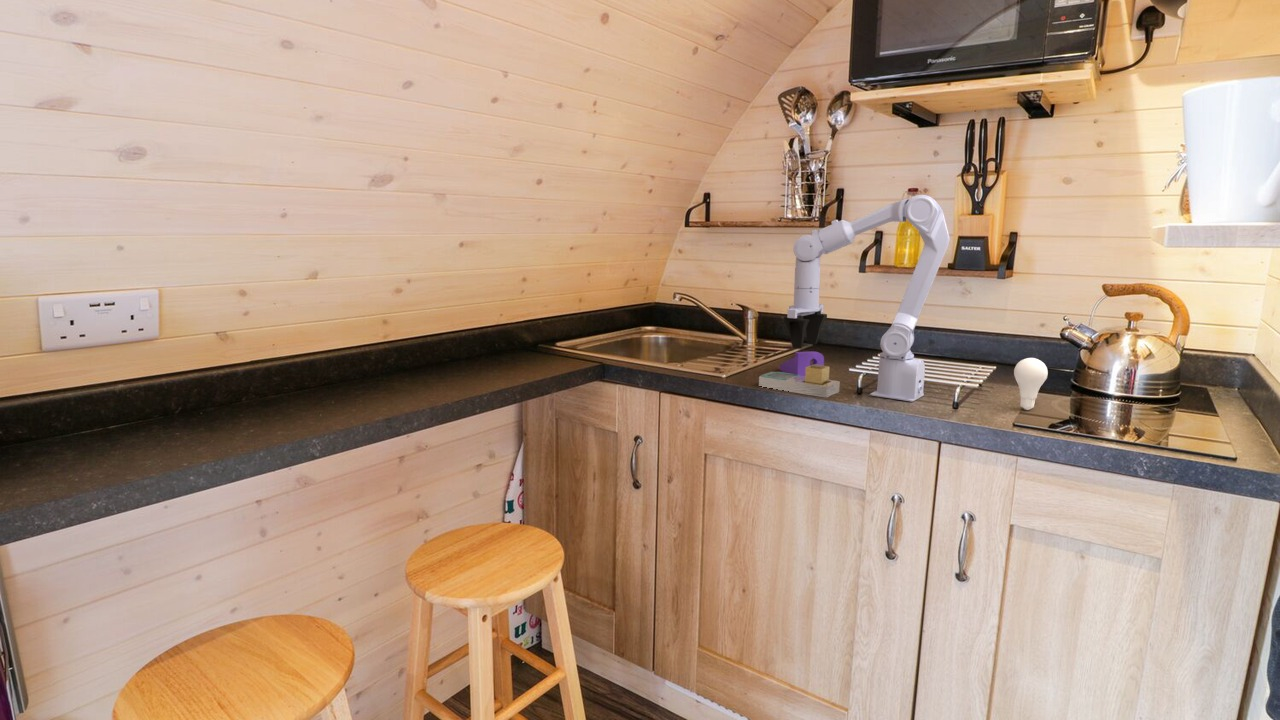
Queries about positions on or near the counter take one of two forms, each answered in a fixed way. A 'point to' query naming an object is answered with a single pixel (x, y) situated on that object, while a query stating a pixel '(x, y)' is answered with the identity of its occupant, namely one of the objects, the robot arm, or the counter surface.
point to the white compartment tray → (797, 384)
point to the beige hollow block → (817, 374)
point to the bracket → (801, 362)
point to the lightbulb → (1030, 380)
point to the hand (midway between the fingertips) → (804, 345)
